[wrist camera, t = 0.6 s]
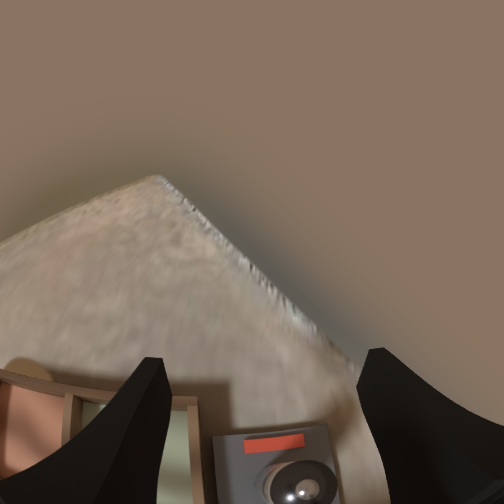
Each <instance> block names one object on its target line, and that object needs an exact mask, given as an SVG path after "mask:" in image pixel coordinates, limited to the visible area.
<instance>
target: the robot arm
mask: <svg viewBox="0 0 504 504" xmlns="http://www.w3.org/2000/svg"><path fill="white" fill-rule="evenodd" d="M356 388H357V392H358V396H359V400H360V404H361V407H362V411H363V413H364V416H365V418H366V421H367V423H368V426H369V428H370V431H371V433H372V436H373V438H374V441H375V443H376V446H377V448H378V451H379V453H380V456H381V459H382V462H383V466H384V470H385V474H386V479H387V483H388V488H389V494H390V500H391V504H504V426H502V425H499V424H496V423H493V422H491V421H489V420H487V419H484V418H482V417H480V416H478V415H476V414H474V413H472V412H470V411H468V410H466V409H465V408H463V407H461V406H460V405H458V404H456V403H454V402H453V401H452V400H450V399H449V398H447V397H446V396H444V395H443V394H441V393H440V392H439V391H437V390H436V389H434V388H433V387H432V386H431V385H429V384H428V383H427V382H425V381H424V380H423V379H422V378H420V377H419V376H418V375H417V374H415V373H414V372H413V371H412V370H411V369H409V368H408V367H407V366H406V365H405V364H403V363H402V362H401V361H400V360H399V359H397V358H396V357H395V356H394V355H393V354H391V353H390V352H389V351H388V350H386V349H385V348H376V349H370V350H369V352H368V355H367V358H366V361H365V364H364V367H363V369H362V372H361V375H360V378H359V381H358V383H357V386H356ZM171 406H172V393H171V389H170V385H169V382H168V378H167V374H166V371H165V367H164V363H163V359H162V358H152V357H145V358H144V359H143V360H142V362H141V363H140V364H139V365H138V367H137V368H136V369H135V371H134V372H133V373H132V375H131V376H130V377H129V378H128V380H127V381H126V382H125V383H124V385H123V386H122V387H121V388H120V389H119V391H118V392H117V393H116V394H115V395H114V397H113V398H112V399H111V400H110V401H109V403H108V404H107V405H106V406H105V407H104V408H103V409H102V410H101V411H100V412H99V413H98V414H97V415H96V417H95V418H94V419H93V420H92V421H91V422H90V423H89V424H88V425H87V426H86V427H84V428H83V429H82V430H81V431H80V432H79V433H78V434H77V435H76V436H74V437H73V438H72V439H71V440H69V441H68V442H67V443H66V444H64V445H63V446H62V447H61V448H59V449H58V450H56V451H55V452H54V453H52V454H51V455H49V456H48V457H46V458H44V459H43V460H41V461H39V462H38V463H36V464H34V465H33V466H31V467H29V468H27V469H25V470H23V471H21V472H19V473H16V474H14V475H12V476H10V477H7V478H5V479H2V480H0V504H157V488H158V477H159V470H160V465H161V461H162V456H163V451H164V446H165V442H166V437H167V432H168V428H169V423H170V416H171Z"/></svg>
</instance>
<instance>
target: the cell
mask: <svg viewBox="0 0 504 504" xmlns="http://www.w3.org/2000/svg"><path fill="white" fill-rule="evenodd" d="M337 487H338V484H337V479H336V476H335V474H334V472H333V471H332V470H331V469H330V468H329V467H328V466H327V465H325V464H323V463H321V462H318V461H314V460H301V461H294V462H286V463H276V464H272V465H269V466H267V467H265V468H263V469H262V470H261V471H260V472H259V473H258V475H257V476H256V479H255V483H254V488H255V491H256V494H257V495H258V496H259V498H260V499H262V500H263V501H264V502H266V503H268V504H331V503H332V502H333V500H334V498H335V496H336V493H337Z"/></svg>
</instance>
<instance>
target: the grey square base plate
mask: <svg viewBox="0 0 504 504" xmlns="http://www.w3.org/2000/svg"><path fill="white" fill-rule="evenodd" d="M212 438H213V452H214V464H215V475H216V485H217V495H218V504H268V503H266V502H264V501H263V500H262V499H260V498H259V496H258V495H257V494H256V491H255V488H254V483H255V479H256V476H257V475H258V473H259V472H260V471H261V470H262V469H263V468H265V467H267V466H269V465H272V464H276V463H286V462H294V461H301V460H314V461H318V462H321V463H323V464H325V465H327V466H328V467H329V468H330V469H331V470H332V471H333V472H334V474H335V468H334V462H333V456H332V450H331V444H330V439H329V433H328V428H327V424H322V425H317V426H311V427H305V428H298V429H291V430H283V431H275V432H265V433H254V434H239V435H212ZM335 476H336V474H335ZM331 504H340V499H339V493H338V487H337V493H336V496H335V498H334V500H333V502H332V503H331Z"/></svg>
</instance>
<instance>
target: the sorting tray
mask: <svg viewBox="0 0 504 504" xmlns="http://www.w3.org/2000/svg"><path fill="white" fill-rule="evenodd" d="M116 393H117V392H114V391H105V390H97V389H90V388H84V387H77V386H72V385H66V384H61V383H55V382H51V381H45V380H41V379H37V378H32V377H28V376H24V375H20V374H17V373H13V372H9V371H6V370H2V369H0V480H2V479H5V478H7V477H10V476H12V475H14V474H16V473H19V472H21V471H23V470H25V469H27V468H29V467H31V466H33V465H34V464H36V463H38V462H39V461H41V460H43V459H44V458H46V457H48V456H49V455H51V454H52V453H54V452H55V451H56V450H58V449H59V448H61V447H62V446H63V445H64V444H66V443H67V442H68V441H69V440H71V439H72V438H73V437H74V436H76V435H77V434H78V433H79V432H80V431H81V430H82V429H83V428H84V427H86V426H87V425H88V424H89V423H90V422H91V421H92V420H93V419H94V418H95V417H96V415H97V414H98V413H99V412H100V411H101V410H102V409H103V408H104V407H105V406H106V405H107V404H108V403H109V401H110V400H111V399H112V398H113V397H114V395H115V394H116ZM157 504H206V497H205V486H204V475H203V463H202V449H201V433H200V413H199V402H198V398H197V396H172V406H171V416H170V423H169V428H168V432H167V437H166V442H165V446H164V451H163V456H162V461H161V465H160V470H159V477H158V488H157Z"/></svg>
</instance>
